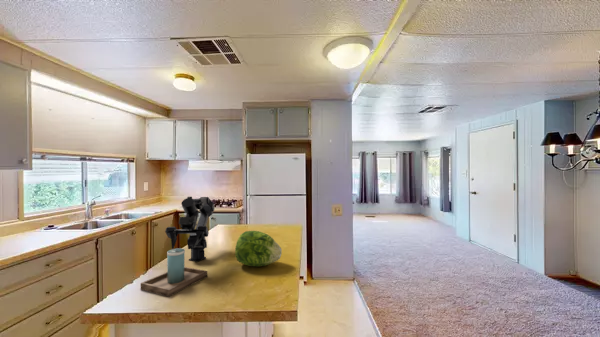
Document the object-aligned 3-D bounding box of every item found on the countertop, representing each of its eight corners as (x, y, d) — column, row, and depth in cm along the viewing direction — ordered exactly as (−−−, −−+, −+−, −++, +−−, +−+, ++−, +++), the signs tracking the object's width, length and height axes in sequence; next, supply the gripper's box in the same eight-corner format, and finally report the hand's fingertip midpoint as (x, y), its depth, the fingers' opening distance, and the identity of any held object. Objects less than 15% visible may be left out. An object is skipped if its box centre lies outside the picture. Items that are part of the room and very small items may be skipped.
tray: (140, 289, 101) (140, 283, 101) (181, 271, 120) (181, 266, 120) (168, 296, 95) (168, 289, 95) (207, 276, 114) (207, 271, 114)
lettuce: (276, 274, 117) (283, 236, 120) (227, 265, 118) (235, 228, 121) (280, 267, 134) (285, 234, 137) (237, 260, 135) (244, 228, 139)
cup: (165, 279, 108) (165, 250, 108) (182, 275, 112) (182, 247, 113) (169, 285, 103) (169, 254, 103) (186, 280, 107) (186, 251, 107)
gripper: (166, 210, 120) (155, 239, 109) (207, 209, 122) (200, 238, 111) (173, 223, 128) (163, 252, 116) (211, 222, 129) (205, 250, 118)
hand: (182, 248), depth 115 cm, fingers open, 9 cm apart
